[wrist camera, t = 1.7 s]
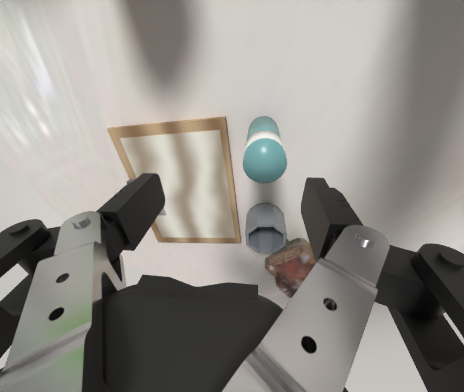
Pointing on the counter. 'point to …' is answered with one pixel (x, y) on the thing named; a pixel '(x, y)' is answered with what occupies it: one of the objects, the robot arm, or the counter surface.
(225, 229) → the clipboard
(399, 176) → the counter surface
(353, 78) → the counter surface
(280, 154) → the teal rounded cylinder
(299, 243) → the decorative box
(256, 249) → the pen cup
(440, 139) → the counter surface
